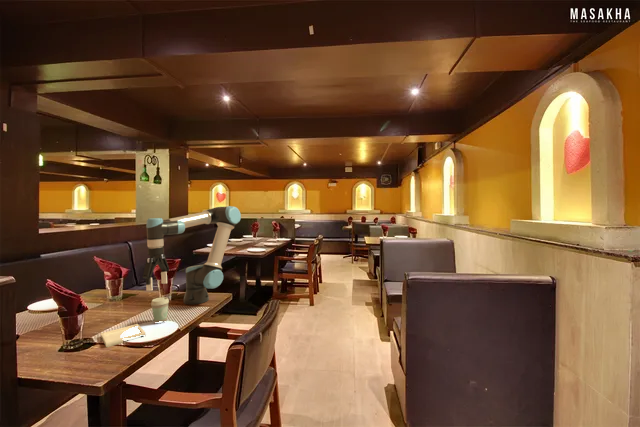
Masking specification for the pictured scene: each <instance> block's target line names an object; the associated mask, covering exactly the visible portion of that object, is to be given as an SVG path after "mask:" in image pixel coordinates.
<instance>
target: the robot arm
mask: <svg viewBox="0 0 640 427" xmlns="http://www.w3.org/2000/svg"><path fill="white" fill-rule="evenodd" d="M241 215H242V214H241V212H240V209H239V208H238V207H236V206H232V205H229V206H217V207H212V208H209V209H205V210H202V212H201V211H200V212H197V213H192V214H187V215H182V216H177V217H172V218H167V219H163V218H162V217H155V218H153V217H152V218H151V217H150V218H148V219H146V226H145V228H146V242H147V243H146V244H147V245H146V246H147V255H148V256H149V258H146V259H145V266H144V269H143V273H142V278H143V279H145V287H146V292H151V291H153V277H152V275H153V273H154V270H155V268H156V267H157V266H158V267H159V269H160V270H161V272H160V276H161V278H160V279H161V284H168V275H167V273H168V272H169V270H170V266H169V263H168V261H167V257H166V254H165V248H164V242H165V240H164V236H167V235H179V234H183V233H184V232H185V230H186V229H187V228H190V227H191V228H192V227H194V226H200V225H204V224H205V225H210V224H216V225H217V228H216V231H215V235H214V238H213V242H212V245H211V248H210V251H209V254H208V257H207V261H206V262H205V263H203V264H199V265H198V264H197V265H191V266H188V267H186V268H185V284H186V285H185V287H186V290H185V293H184V297H183V304H184V305H190V306H191V305H198V304H203V303H206V302H208V301H209V300H210V296H209V292H208V291H207V290H208V289H216V288H218V287H219V286H220V285H221V284H222V283H223V280H224V273H223V272H222V271H223V267H222V262H223V258H224V254H225V251H226V248H227V245H228V242H229V238H230V236H231V235H230V234H231V231H232V230H233V229H235V226H236V225H237V224H239V223H240V221H241V219H242V216H241Z"/></svg>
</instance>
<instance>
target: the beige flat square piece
mask: <svg viewBox="0 0 640 427" xmlns="http://www.w3.org/2000/svg"><path fill="white" fill-rule="evenodd" d="M135 326H139V327H138V329H139V330H140V332H141V333H139V334H135V335H132V336H128V337H124V338H131V337H136V336H140V335H145V336H146V331H145V330H144V329H143V328H142V327H141V326H140V324H138V323H136V324H135V323H134V324H132V325H128V326H124V327H120V328H117V329H112V330H108V331H105V332H101V333H100V338H101V339H102V342H103V344H104V345H105V348H109V347H112V346H116V345H119V344H123V340H122V339H123V338H120V335H121V334H122V333H123V332H124V331H126V330H128V329H129V328H132V327H135Z"/></svg>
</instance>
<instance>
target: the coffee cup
mask: <svg viewBox="0 0 640 427" xmlns="http://www.w3.org/2000/svg"><path fill="white" fill-rule="evenodd" d="M169 303H170V300H169V297H166V296H162V297H157V298H153V299H152V300H151V302H150V305H151V310H152V317H153V321H154V322H159V321H166V322H167V321H168V311H169ZM154 322H153V323H154Z"/></svg>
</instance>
